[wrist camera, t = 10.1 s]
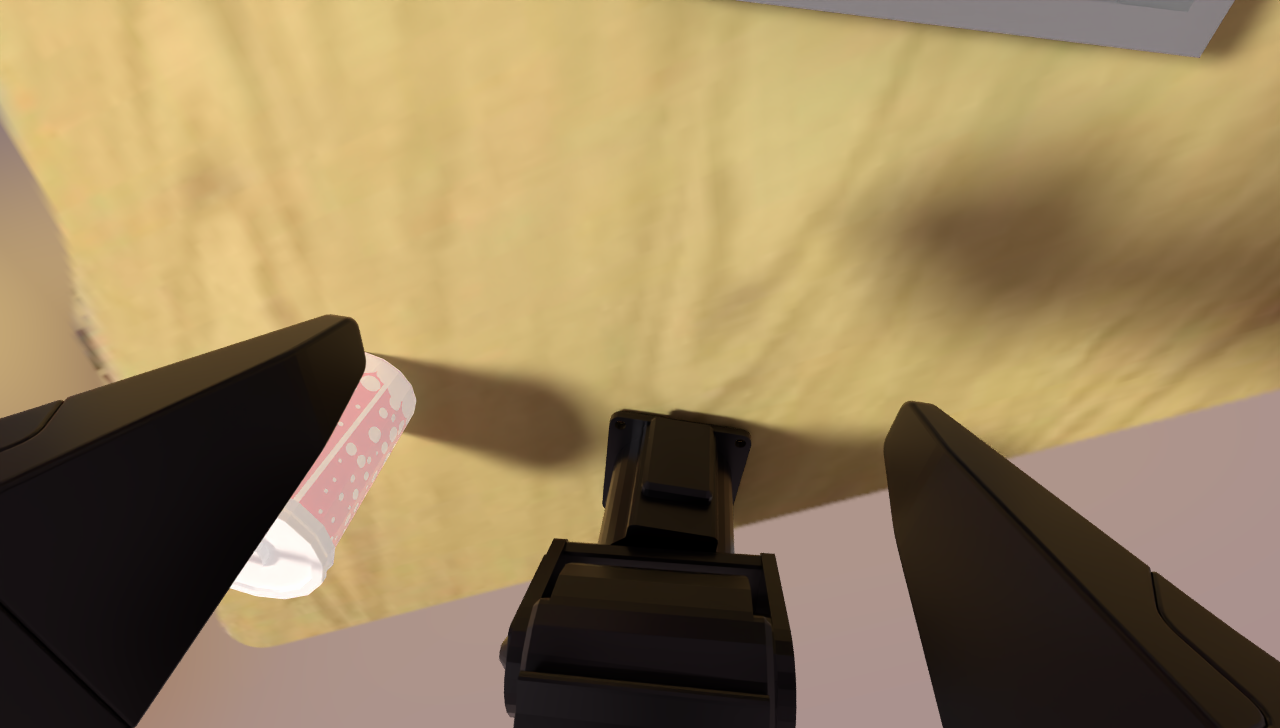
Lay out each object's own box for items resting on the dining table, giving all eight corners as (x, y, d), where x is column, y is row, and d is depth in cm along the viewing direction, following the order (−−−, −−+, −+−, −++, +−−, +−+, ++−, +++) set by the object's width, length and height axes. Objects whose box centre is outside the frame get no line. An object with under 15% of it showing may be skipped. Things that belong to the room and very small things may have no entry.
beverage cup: (280, 370, 26) (-57, 671, 15) (359, 314, 24) (28, 622, 12) (377, 452, 29) (155, 763, 17) (457, 409, 26) (260, 737, 15)
